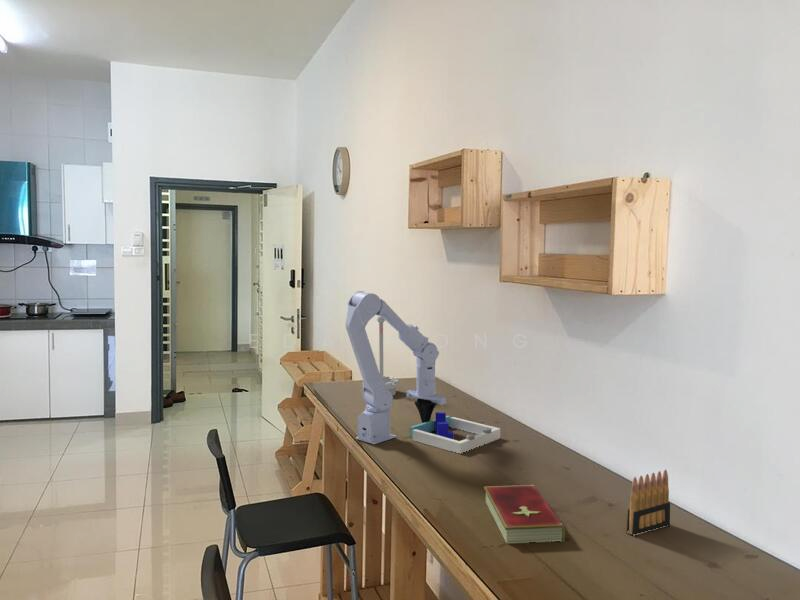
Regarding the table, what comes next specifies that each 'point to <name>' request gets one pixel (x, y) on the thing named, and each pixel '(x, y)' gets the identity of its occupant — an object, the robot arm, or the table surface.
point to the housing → (472, 441)
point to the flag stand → (389, 382)
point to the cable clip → (442, 425)
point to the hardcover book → (523, 514)
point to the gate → (427, 426)
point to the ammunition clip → (649, 503)
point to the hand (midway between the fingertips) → (425, 423)
